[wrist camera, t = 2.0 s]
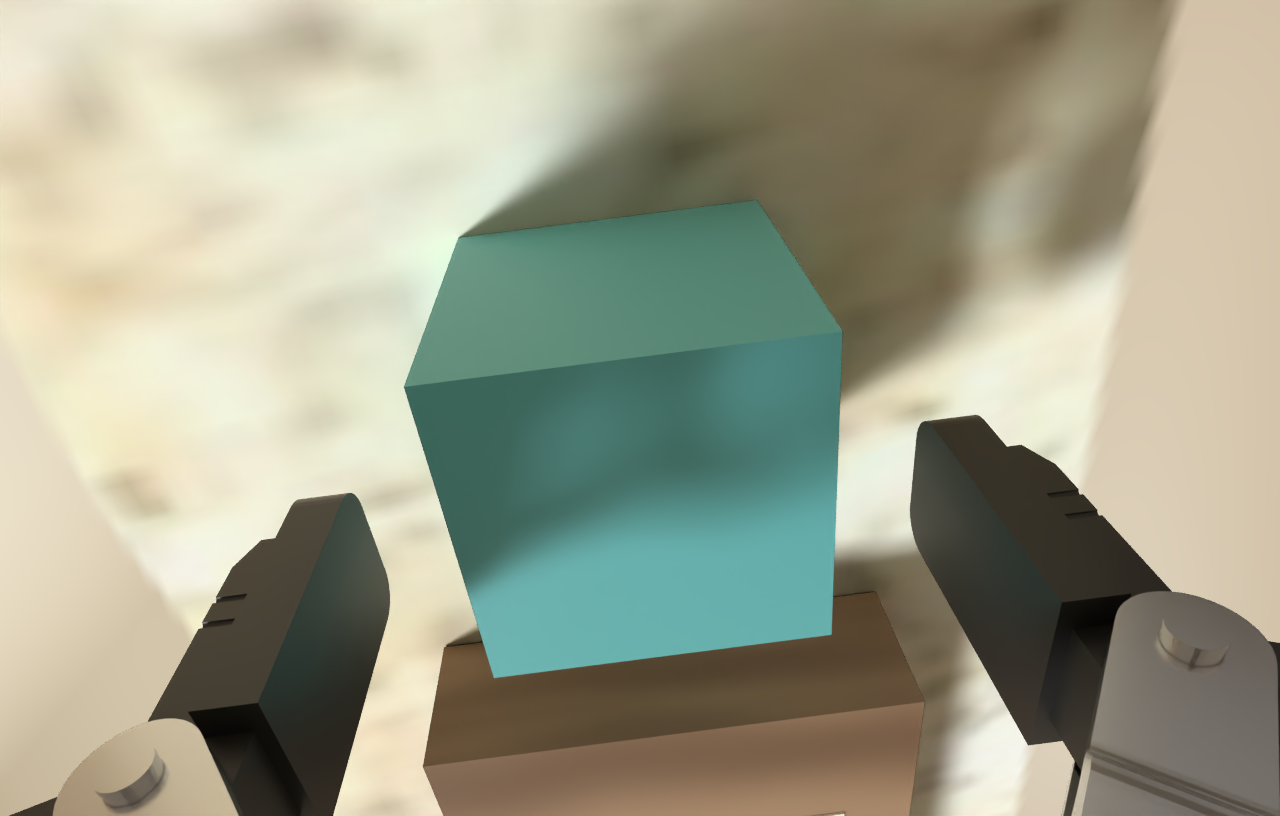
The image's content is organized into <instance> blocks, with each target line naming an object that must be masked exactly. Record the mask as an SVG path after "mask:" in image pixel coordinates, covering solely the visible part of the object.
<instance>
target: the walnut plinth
mask: <svg viewBox="0 0 1280 816" xmlns="http://www.w3.org/2000/svg"><path fill="white" fill-rule="evenodd" d="M924 704H925V701H924V699H923V697H922V694H921V692H920V690H919V688H918V685H917V683H916V681H915V679H914V676H913V674H912V672H911V670H910V668H909V665H908V663H907V661H906V659H905V656H904V654H903V652H902V650H901V647H900V645H899V643H898V641H897V639H896V636H895V634H894V632H893V630H892V627H891V625H890V623H889V621H888V618H887V616H886V614H885V612H884V610H883V607H882V605H881V603H880V601H879V598H878V596H877V594H876V592H871V593H863V594H855V595H847V596H840V597H833V607H832V634H831V635H826V636H818V637H810V638H802V639H794V640H787V641H779V642H771V643H763V644H756V645H748V646H740V647H732V648H724V649H717V650H709V651H701V652H693V653H685V654H678V655H670V656H662V657H654V658H646V659H639V660H631V661H623V662H615V663H607V664H600V665H592V666H584V667H576V668H568V669H561V670H553V671H545V672H537V673H530V674H522V675H514V676H506V677H498V678H494V677H493V673H492V670H491V667H490V664H489V660H488V657H487V654H486V651H485V647H484V644H483V642H482V643H474V644H467V645H459V646H451V647H444V652H443V657H442V663H441V668H440V674H439V680H438V685H437V691H436V696H435V702H434V708H433V713H432V719H431V724H430V730H429V736H428V741H427V747H426V752H425V758H424V764H423V768H424V770H425V773H426V775H427V778H428V780H429V782H430V785H431V787H432V789H433V792H434V794H435V797H436V799H437V801H438V804H439V806H440V808H441V811H442V813H443V816H909V813H910V806H911V799H912V792H913V784H914V777H915V770H916V763H917V755H918V748H919V741H920V734H921V726H922V719H923V712H924Z"/></svg>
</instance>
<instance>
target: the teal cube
mask: <svg viewBox="0 0 1280 816" xmlns="http://www.w3.org/2000/svg"><path fill="white" fill-rule="evenodd" d="M842 334H843V331H842V330H841V328H840V327H839V325H838V324H837V322H836V320H835V319H834V317H833V316H832V314H831V313H830V311H829V310H828V308H827V307H826V305H825V304H824V302H823V300H822V299H821V297H820V296H819V294H818V293H817V291H816V290H815V288H814V287H813V285H812V284H811V282H810V280H809V279H808V277H807V276H806V274H805V273H804V271H803V270H802V268H801V267H800V265H799V264H798V262H797V261H796V259H795V257H794V256H793V254H792V253H791V251H790V250H789V248H788V247H787V245H786V244H785V242H784V241H783V239H782V237H781V236H780V234H779V233H778V231H777V230H776V228H775V227H774V225H773V224H772V222H771V221H770V219H769V218H768V216H767V214H766V213H765V211H764V210H763V208H762V207H761V205H760V204H759V202H758V201H757V200H753V201H745V202H737V203H729V204H721V205H713V206H705V207H697V208H689V209H681V210H673V211H665V212H658V213H650V214H642V215H634V216H626V217H618V218H610V219H602V220H594V221H586V222H578V223H570V224H562V225H554V226H546V227H539V228H531V229H523V230H515V231H507V232H499V233H491V234H483V235H475V236H467V237H459V238H458V240H457V243H456V246H455V249H454V251H453V254H452V257H451V260H450V262H449V265H448V268H447V271H446V273H445V276H444V279H443V281H442V284H441V287H440V290H439V292H438V295H437V298H436V301H435V303H434V306H433V309H432V312H431V314H430V317H429V320H428V323H427V325H426V328H425V331H424V333H423V336H422V339H421V342H420V344H419V347H418V350H417V353H416V355H415V358H414V361H413V364H412V366H411V369H410V372H409V375H408V377H407V380H406V383H405V386H404V388H405V392H406V395H407V398H408V401H409V405H410V408H411V411H412V414H413V418H414V421H415V424H416V427H417V431H418V434H419V437H420V440H421V443H422V447H423V450H424V453H425V456H426V460H427V463H428V466H429V469H430V473H431V476H432V479H433V482H434V486H435V489H436V492H437V495H438V499H439V502H440V505H441V508H442V511H443V515H444V518H445V521H446V524H447V528H448V531H449V534H450V537H451V541H452V544H453V547H454V550H455V554H456V557H457V560H458V563H459V567H460V570H461V573H462V576H463V579H464V583H465V586H466V589H467V592H468V596H469V599H470V602H471V605H472V609H473V612H474V615H475V618H476V622H477V625H478V628H479V631H480V635H481V638H482V641H483V644H484V647H485V651H486V654H487V657H488V660H489V664H490V667H491V670H492V673H493V677H494V678H498V677H506V676H514V675H522V674H530V673H537V672H545V671H553V670H561V669H568V668H576V667H584V666H592V665H600V664H607V663H615V662H623V661H631V660H639V659H646V658H654V657H662V656H670V655H678V654H685V653H693V652H701V651H709V650H717V649H724V648H732V647H740V646H748V645H756V644H763V643H771V642H779V641H787V640H794V639H802V638H810V637H818V636H826V635H831V634H832V607H833V580H834V552H835V525H836V498H837V470H838V443H839V416H840V388H841V361H842Z"/></svg>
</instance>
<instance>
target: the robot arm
mask: <svg viewBox="0 0 1280 816" xmlns="http://www.w3.org/2000/svg"><path fill="white" fill-rule="evenodd" d="M910 518H911V526H912V531H913V535H914V539H915V542H916V545H917V547H918V549H919V551H920V553H921V555H922V557H923V559H924V561H925V562H926V564H927V566H928V568H929V569H930V571H931V573H932V575H933V577H934V578H935V580H936V582H937V584H938V585H939V587H940V589H941V591H942V593H943V594H944V596H945V598H946V600H947V601H948V603H949V605H950V607H951V609H952V610H953V612H954V614H955V616H956V618H957V619H958V621H959V623H960V625H961V626H962V628H963V630H964V632H965V634H966V635H967V637H968V639H969V641H970V642H971V644H972V646H973V648H974V650H975V651H976V653H977V655H978V657H979V658H980V660H981V662H982V664H983V666H984V667H985V669H986V671H987V673H988V675H989V676H990V678H991V680H992V682H993V683H994V685H995V687H996V689H997V691H998V692H999V694H1000V696H1001V698H1002V699H1003V701H1004V703H1005V705H1006V707H1007V708H1008V710H1009V712H1010V714H1011V716H1012V717H1013V719H1014V721H1015V723H1016V724H1017V726H1018V728H1019V730H1020V732H1021V733H1022V735H1023V737H1024V739H1025V740H1026V742H1027V744H1028V745H1034V744H1042V743H1049V742H1057V741H1063V742H1064V743H1065V745H1066V747H1067V749H1068V750H1069V752H1070V754H1071V755H1072V757H1073V758H1074V762H1073V765H1072V769H1071V773H1070V777H1069V781H1068V786H1067V791H1066V795H1065V800H1064V805H1063V810H1062V814H1061V816H1280V643H1276V642H1270V641H1267V639H1266V638H1265V637H1264V636H1263V635H1262V634H1261V632H1260V631H1259V630H1258V629H1257V628H1256V627H1254V626H1253V625H1252V624H1251V623H1249V622H1248V621H1247V620H1246V619H1244V618H1243V617H1241V616H1240V615H1238V614H1237V613H1235V612H1233V611H1231V610H1230V609H1228V608H1226V607H1224V606H1222V605H1219V604H1217V603H1215V602H1212V601H1210V600H1207V599H1204V598H1201V597H1198V596H1194V595H1189V594H1185V593H1179V592H1172V591H1171V590H1170V589H1169V588H1168V587H1167V586H1166V584H1165V583H1164V582H1163V581H1162V580H1161V579H1160V578H1159V577H1158V576H1157V575H1156V574H1155V572H1154V571H1153V570H1152V569H1151V568H1150V567H1149V566H1148V565H1147V564H1146V563H1145V562H1144V560H1143V559H1142V558H1141V557H1140V556H1139V555H1138V554H1137V553H1136V552H1135V551H1134V550H1133V548H1132V547H1131V546H1130V545H1129V544H1128V543H1127V542H1126V541H1125V540H1124V539H1123V538H1122V537H1121V535H1120V534H1119V533H1118V532H1117V531H1116V530H1115V529H1114V528H1113V527H1112V525H1111V524H1110V523H1109V522H1108V521H1107V520H1106V519H1105V518H1104V517H1103V516H1102V515H1101V516H1099V515H1098V513H1097V509H1096V508H1095V507H1094V506H1093V505H1092V504H1091V503H1090V501H1089V500H1088V499H1087V498H1086V497H1085V496H1084V495H1083V494H1082V495H1080V494H1079V492H1078V488H1077V487H1076V486H1075V485H1074V484H1073V483H1072V482H1071V481H1070V480H1069V478H1068V477H1067V476H1066V475H1065V474H1064V473H1063V472H1062V471H1061V470H1060V469H1059V467H1058V466H1057V465H1056V464H1054V463H1052V462H1051V461H1049V460H1047V459H1045V458H1043V457H1042V456H1040V455H1038V454H1036V453H1035V452H1033V451H1031V450H1029V449H1028V448H1026V447H1024V446H1022V445H1017V446H1009V447H1007V446H1006V445H1005V444H1004V443H1003V442H1002V440H1001V439H1000V438H999V437H998V436H997V435H996V433H995V432H994V431H993V430H992V429H991V428H990V426H989V425H988V424H987V423H986V422H985V420H984V419H982V418H981V417H980V416H978V415H971V416H963V417H956V418H948V419H940V420H932V421H924V422H922V423H921V424H920V426H919V428H918V432H917V438H916V448H915V459H914V470H913V481H912V492H911V503H910ZM389 608H390V591H389V583H388V578H387V574H386V571H385V568H384V566H383V563H382V560H381V557H380V555H379V552H378V549H377V546H376V544H375V541H374V538H373V535H372V533H371V530H370V527H369V525H368V522H367V519H366V516H365V514H364V511H363V508H362V506H361V503H360V501H359V499H358V498H357V497H356V496H355V495H354V494H352V493H346V494H339V495H331V496H323V497H315V498H307V499H299V500H297V501H295V502H294V503H293V505H292V506H291V508H290V510H289V512H288V514H287V516H286V518H285V520H284V522H283V524H282V526H281V528H280V530H279V532H278V534H277V536H276V538H274V539H267V540H261V541H260V542H259V543H258V544H257V545H256V546H255V547H254V548H253V549H251V550H250V551H249V552H248V553H247V554H246V555H245V556H244V557H243V558H242V559H241V560H240V561H239V562H238V563H237V564H236V565H235V566H234V567H233V568H232V569H231V571H230V573H229V575H228V576H227V578H226V580H225V582H224V584H223V586H222V587H221V589H220V591H219V593H218V595H217V596H216V603H214V604H212V606H211V607H210V609H209V611H208V613H207V615H206V617H205V618H204V620H203V622H202V623H203V628H202V629H198V631H197V633H196V635H195V637H194V638H193V640H192V642H191V644H190V646H189V648H188V649H187V651H186V653H185V655H184V657H183V659H182V660H181V662H180V664H179V666H178V668H177V669H176V671H175V673H174V675H173V677H172V679H171V680H170V682H169V684H168V686H167V688H166V689H165V691H164V693H163V695H162V697H161V698H160V700H159V702H158V704H157V706H156V708H155V709H154V711H153V713H152V715H151V717H150V718H149V720H148V722H146V723H143V724H140V725H138V726H135V727H133V728H130V729H128V730H126V731H124V732H122V733H120V734H118V735H117V736H115V737H113V738H112V739H110V740H109V741H107V742H105V743H104V744H103V745H101V746H100V747H99V748H97V749H96V750H95V751H94V752H92V753H91V754H90V755H89V756H88V757H87V758H86V759H85V760H84V761H82V763H81V764H80V765H79V766H78V767H77V768H76V769H75V770H74V771H73V773H72V774H71V775H70V777H69V778H68V779H67V781H66V782H65V784H64V785H63V787H62V789H61V791H60V793H59V795H58V797H56V798H54V799H51V800H48V801H46V802H43V803H41V804H38V805H35V806H33V807H31V808H28V809H25V810H23V811H20V812H18V813H15V814H12V815H10V816H333V814H334V810H335V806H336V803H337V799H338V796H339V792H340V788H341V785H342V781H343V778H344V774H345V770H346V767H347V763H348V760H349V756H350V753H351V749H352V745H353V742H354V738H355V735H356V731H357V727H358V724H359V720H360V717H361V713H362V709H363V706H364V702H365V699H366V695H367V692H368V688H369V684H370V681H371V677H372V674H373V670H374V666H375V663H376V659H377V656H378V652H379V648H380V645H381V641H382V638H383V634H384V630H385V627H386V623H387V620H388V615H389Z"/></svg>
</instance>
